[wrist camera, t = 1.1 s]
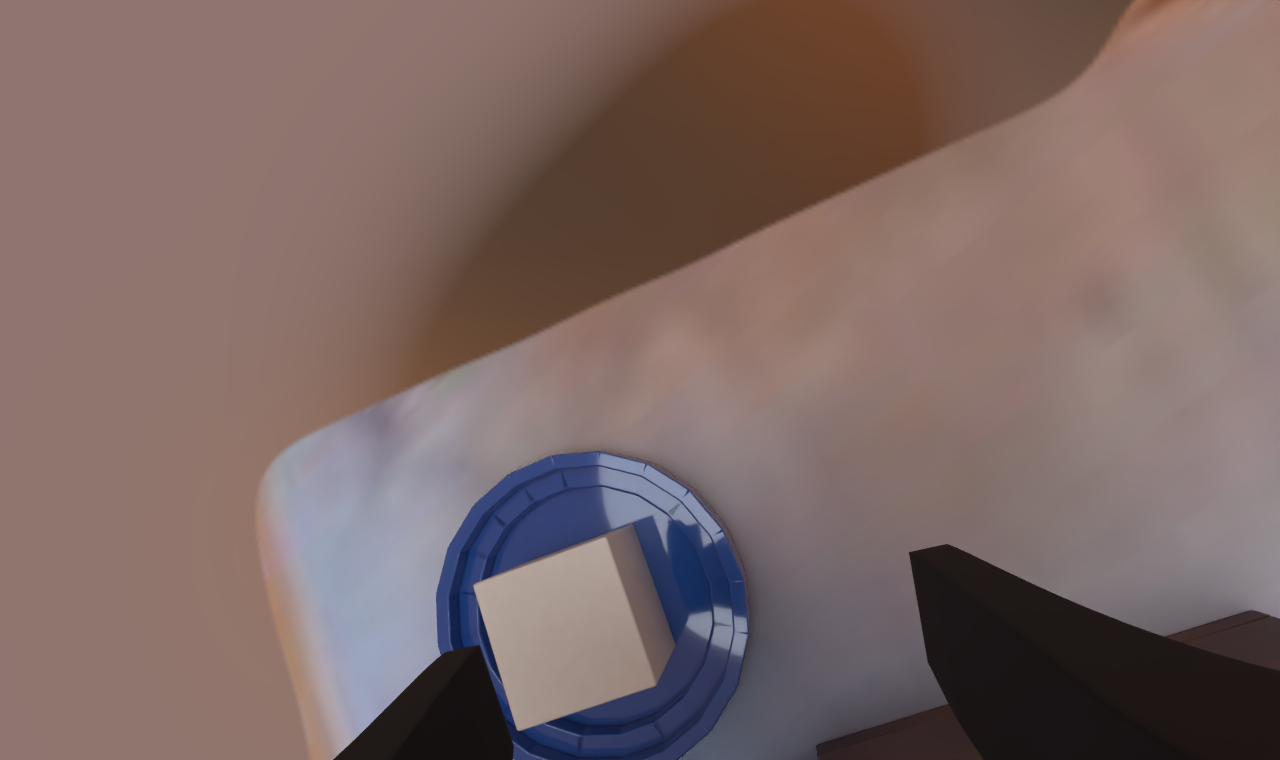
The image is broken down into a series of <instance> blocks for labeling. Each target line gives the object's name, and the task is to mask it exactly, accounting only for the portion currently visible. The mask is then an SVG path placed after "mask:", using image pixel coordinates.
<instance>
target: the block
mask: <svg viewBox="0 0 1280 760" xmlns="http://www.w3.org/2000/svg"><path fill="white" fill-rule="evenodd" d="M473 587H474V591H475V594H476V597H477V600H478V604H479V607H480V610H481V614H482V617H483V620H484V623H485V627H486V630H487V633H488V637H489V640H490V643H491V646H492V650H493V653H494V656H495V660H496V663H497V666H498V669H499V673H500V676H501V679H502V683H503V686H504V689H505V692H506V696H507V699H508V702H509V706H510V709H511V712H512V715H513V719H514V722H515V725H516V729H517V730H518V731H522V730H525V729H528V728H531V727H534V726H537V725H540V724H543V723H546V722H549V721H552V720H555V719H558V718H561V717H564V716H567V715H570V714H573V713H576V712H579V711H582V710H585V709H588V708H591V707H594V706H597V705H600V704H603V703H606V702H609V701H612V700H615V699H618V698H621V697H624V696H627V695H630V694H634V693H637V692H640V691H643V690H646V689H649V688H652V687H655V686H656V685H657V683H658V681H659V679H660V677H661V675H662V673H663V671H664V669H665V667H666V664H667V662H668V660H669V658H670V656H671V654H672V652H673V650H674V648H675V642H674V639H673V636H672V633H671V630H670V627H669V624H668V622H667V619H666V616H665V613H664V610H663V607H662V604H661V602H660V599H659V596H658V593H657V590H656V587H655V585H654V582H653V579H652V576H651V573H650V570H649V567H648V565H647V562H646V559H645V556H644V553H643V550H642V547H641V545H640V542H639V539H638V536H637V533H636V530H635V527H634V525H633V524H630V525H628V526H625V527H622V528H619V529H617V530H614V531H611V532H608V533H606V534H603V535H600V536H597V537H595V538H592V539H589V540H586V541H584V542H581V543H578V544H575V545H573V546H570V547H567V548H564V549H562V550H559V551H556V552H553V553H551V554H548V555H545V556H542V557H540V558H537V559H534V560H531V561H529V562H526V563H523V564H521V565H518V566H516V567H513V568H511V569H509V570H506V571H504V572H501V573H499V574H497V575H494V576H492V577H489V578H487V579H485V580H482V581H480V582H477V583H475V584H474V585H473Z"/></svg>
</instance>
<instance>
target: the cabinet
mask: <svg viewBox="0 0 1280 760" xmlns="http://www.w3.org/2000/svg"><path fill="white" fill-rule="evenodd" d="M1166 638H1169V639H1172V640H1175V641H1178V642H1182V643H1185V644H1188V645H1191V646H1194V647H1197V648H1200V649H1203V650H1206V651H1210V652H1213V653H1216V654H1219V655H1223V656H1226V657H1230V658H1234V659H1237V660H1241V661H1244V662H1248V663H1251V664H1255V665H1259V666H1263V667H1267V668H1271V669H1275V670H1279V671H1280V619H1279V618H1276V617H1272V616H1270V615H1267V614H1264V613H1261V612H1257V611H1254V610H1252V611H1249V612H1245V613H1242V614H1239V615H1236V616H1232V617H1229V618H1226V619H1223V620H1220V621H1216V622H1213V623H1210V624H1207V625H1203V626H1200V627H1197V628H1194V629H1190V630H1187V631H1184V632H1181V633H1178V634H1174V635H1171V636H1168V637H1166ZM816 749H817V754H818V759H819V760H983V759H982V757H981V756H980V754H979V753H978V751H977V750H976V748H975V747H974V745H973V743H972V742H971V740H970V739H969V737H968V736H967V734H966V733H965V731H964V730H963V728H962V727H961V725H960V724H959V722H958V720H957V719H956V717H955V715H954V713H953V711H952V709H951V707H950V705H949V704H948V705H945V706H942V707H939V708H936V709H932V710H929V711H926V712H923V713H919V714H916V715H913V716H910V717H907V718H903V719H900V720H897V721H894V722H890V723H887V724H884V725H881V726H878V727H874V728H871V729H868V730H865V731H861V732H858V733H855V734H852V735H848V736H845V737H842V738H839V739H836V740H832V741H829V742H826V743H823V744H819V745H817V746H816Z"/></svg>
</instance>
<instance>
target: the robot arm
mask: <svg viewBox="0 0 1280 760" xmlns="http://www.w3.org/2000/svg"><path fill="white" fill-rule="evenodd" d="M909 555H910V560H911V566H912V572H913V578H914V584H915V590H916V595H917V601H918V607H919V613H920V619H921V625H922V630H923V636H924V642H925V648H926V654H927V660H928V663H929V665H930V667H931V669H932V671H933V673H934V675H935V677H936V679H937V681H938V683H939V685H940V687H941V690H942V692H943V694H944V695H945V697H946V699H947V701H948V703H949V705H950V707H951V709H952V711H953V713H954V715H955V717H956V719H957V720H958V722H959V724H960V725H961V727H962V728H963V730H964V731H965V733H966V734H967V736H968V737H969V739H970V740H971V742H972V743H973V745H974V747H975V748H976V750H977V751H978V753H979V754H980V756H981V757H982V759H983V760H1280V671H1279V670H1275V669H1271V668H1267V667H1263V666H1259V665H1255V664H1251V663H1248V662H1244V661H1241V660H1237V659H1234V658H1230V657H1226V656H1223V655H1219V654H1216V653H1213V652H1210V651H1206V650H1203V649H1200V648H1197V647H1194V646H1191V645H1188V644H1185V643H1182V642H1178V641H1175V640H1172V639H1169V638H1166V637H1163V636H1160V635H1157V634H1154V633H1151V632H1148V631H1146V630H1143V629H1140V628H1137V627H1134V626H1132V625H1129V624H1126V623H1124V622H1121V621H1119V620H1116V619H1114V618H1111V617H1109V616H1106V615H1104V614H1101V613H1099V612H1096V611H1094V610H1091V609H1088V608H1086V607H1084V606H1081V605H1079V604H1077V603H1074V602H1072V601H1070V600H1067V599H1065V598H1063V597H1060V596H1058V595H1056V594H1054V593H1051V592H1049V591H1047V590H1045V589H1042V588H1040V587H1038V586H1036V585H1034V584H1032V583H1029V582H1027V581H1025V580H1023V579H1021V578H1019V577H1017V576H1015V575H1012V574H1010V573H1008V572H1006V571H1004V570H1002V569H1000V568H998V567H996V566H994V565H992V564H990V563H988V562H985V561H983V560H981V559H979V558H977V557H975V556H973V555H971V554H969V553H967V552H964V551H962V550H960V549H958V548H956V547H953V546H951V545H948V544H945V545H941V546H936V547H931V548H927V549H922V550H918V551H913V552H909ZM513 753H514V744H513V741H512V739H511V736H510V733H509V730H508V727H507V724H506V721H505V718H504V715H503V712H502V709H501V706H500V703H499V700H498V697H497V694H496V692H495V689H494V686H493V683H492V680H491V677H490V674H489V671H488V668H487V665H486V662H485V659H484V656H483V653H482V650H481V647H480V645H476V646H471V647H466V648H462V649H457V650H452V651H448V652H445V653H443V654H442V655H441V656H440V657H439V658H437V659H436V660H435V661H434V662H433V663H432V664H431V665H430V666H429V667H427V668H426V669H425V670H424V671H423V672H422V673H421V674H420V675H419V676H418V677H417V678H416V679H415V680H414V681H413V682H412V683H411V684H410V685H409V686H408V687H407V688H406V689H405V690H404V691H403V692H402V693H401V694H400V695H399V696H398V697H397V698H396V699H395V700H394V701H393V702H392V703H391V704H390V705H389V706H388V707H387V708H386V709H385V710H384V711H383V712H382V713H381V714H380V715H379V716H378V717H377V718H376V719H375V720H374V721H373V722H372V723H371V724H370V725H369V726H368V727H367V728H366V729H365V730H364V731H363V732H362V733H361V734H360V735H359V736H358V737H357V738H356V739H355V740H354V741H353V742H352V743H351V744H350V745H348V746H347V747H346V748H345V749H344V750H343V751H342V752H341V753H340V754H339V755H338V756H337V757H336V758H334V759H333V760H513Z"/></svg>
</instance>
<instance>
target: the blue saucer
mask: <svg viewBox="0 0 1280 760" xmlns="http://www.w3.org/2000/svg"><path fill="white" fill-rule="evenodd" d="M630 524H633V525H634V527H635V530H636V533H637V536H638V539H639V542H640V545H641V547H642V550H643V553H644V556H645V559H646V562H647V565H648V567H649V570H650V573H651V576H652V579H653V582H654V585H655V587H656V590H657V593H658V596H659V599H660V602H661V604H662V607H663V610H664V613H665V616H666V619H667V622H668V624H669V627H670V630H671V633H672V636H673V639H674V642H675V648H674V650H673V652H672V654H671V656H670V658H669V660H668V662H667V664H666V667H665V669H664V671H663V673H662V675H661V677H660V679H659V681H658V683H657V685H656V686H655V687H652V688H649V689H646V690H643V691H640V692H637V693H634V694H630V695H627V696H624V697H621V698H618V699H615V700H612V701H609V702H606V703H603V704H600V705H597V706H594V707H591V708H588V709H585V710H582V711H579V712H576V713H573V714H570V715H567V716H564V717H561V718H558V719H555V720H552V721H549V722H546V723H543V724H540V725H537V726H534V727H531V728H528V729H525V730H522V731H518V730H517V729H516V725H515V722H514V719H513V715H512V712H511V709H510V706H509V702H508V699H507V696H506V692H505V689H504V686H503V683H502V679H501V676H500V673H499V669H498V666H497V663H496V660H495V656H494V653H493V650H492V646H491V643H490V640H489V637H488V633H487V630H486V627H485V623H484V620H483V617H482V614H481V610H480V607H479V604H478V600H477V597H476V594H475V591H474V587H473V585H474V584H475V583H477V582H480V581H482V580H485V579H487V578H489V577H492V576H494V575H497V574H499V573H501V572H504V571H506V570H509V569H511V568H513V567H516V566H518V565H521V564H523V563H526V562H529V561H531V560H534V559H537V558H540V557H542V556H545V555H548V554H551V553H553V552H556V551H559V550H562V549H564V548H567V547H570V546H573V545H575V544H578V543H581V542H584V541H586V540H589V539H592V538H595V537H597V536H600V535H603V534H606V533H608V532H611V531H614V530H617V529H619V528H622V527H625V526H628V525H630ZM436 594H437V595H436V605H437V633H438V644H439V645H438V647H439V650H440V653H441V655H442V654H443V653H445V652H448V651H452V650H457V649H462V648H466V647H471V646H476V645H480V647H481V650H482V653H483V656H484V659H485V662H486V665H487V668H488V671H489V674H490V677H491V680H492V683H493V686H494V689H495V692H496V694H497V697H498V700H499V703H500V706H501V709H502V712H503V715H504V718H505V721H506V724H507V727H508V730H509V733H510V736H511V739H512V741H513V744H514V753H513V759H514V760H678V759H679V758H680V757H682V756H683V755H684V754H685V753H686V752H688V751H689V750H690V749H691V748H692V747H694V746H695V745H696V744H697V743H698V742H700V741H701V740H702V739H703V738H704V737H706V736H707V735H708V734H709V733H710V731H712V729H713V727H714V726H715V724H716V722H717V721H718V719H719V717H720V716H721V714H722V712H723V711H724V709H725V707H726V706H727V704H728V702H729V701H730V699H731V697H732V695H733V694H734V692H735V690H736V689H737V686H738V684H739V679H740V674H741V670H742V665H743V661H744V656H745V652H746V647H747V643H748V638H749V631H750V630H749V629H750V614H749V603H748V593H747V582H746V574H745V569H744V567H743V565H742V562H741V560H740V558H739V555H738V553H737V550H736V548H735V546H734V543H733V541H732V539H731V536H730V534H729V531H728V529H727V527H726V526H725V524H724V522H723V521H722V520H721V519H720V518H719V517H718V515H717V514H716V513H715V512H714V511H713V509H712V508H711V507H710V506H709V505H708V504H707V502H706V501H705V500H704V499H703V498H702V496H701V495H700V494H699V493H698V492H697V491H696V489H693V487H692V486H690V485H689V484H687V483H685V482H684V481H682V480H681V479H679V478H677V477H676V476H674V475H673V474H671V473H669V472H668V471H666V470H665V469H663V468H661V467H660V466H658V465H657V464H653V463H652V462H648V461H644V460H640V459H636V458H632V457H628V456H624V455H620V454H616V453H612V452H601V451H595V452H583V453H571V454H559V455H553V456H549V457H547V458H544V459H542V460H540V461H537V462H535V463H533V464H530V465H528V466H526V467H524V468H521V469H519V470H517V471H514V472H512V473H510V474H509V475H507V476H506V477H505V478H504V479H503V480H501V481H500V482H499V483H498V484H497V485H496V486H495V487H493V488H492V489H491V490H490V491H489V492H488V493H487V494H486V495H484V496H483V497H482V498H481V499H480V500H479V501H478V502H476V503H475V504H474V506H473V507H472V508H471V510H470V512H469V513H468V515H467V517H466V518H465V520H464V522H463V523H462V525H461V527H460V528H459V530H458V532H457V533H456V535H455V537H454V538H453V540H452V542H451V543H450V545H449V547H448V550H447V554H446V558H445V561H444V565H443V569H442V573H441V577H440V581H439V585H438V589H437V593H436Z"/></svg>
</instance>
